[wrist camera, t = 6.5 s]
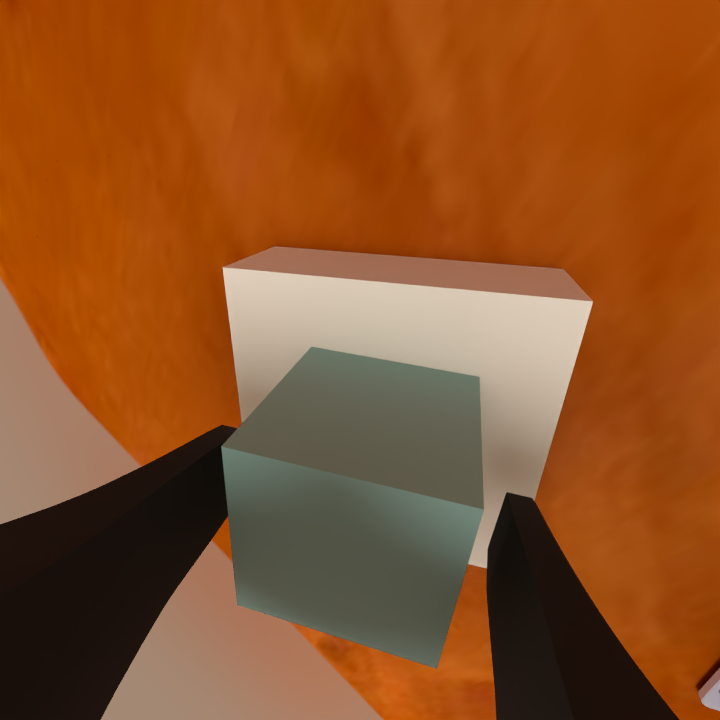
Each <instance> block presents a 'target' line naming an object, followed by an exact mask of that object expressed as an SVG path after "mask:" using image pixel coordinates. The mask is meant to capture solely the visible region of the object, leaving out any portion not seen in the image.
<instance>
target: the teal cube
mask: <svg viewBox="0 0 720 720" xmlns="http://www.w3.org/2000/svg"><path fill="white" fill-rule="evenodd" d="M221 448H222V458H223V468H224V479H225V489H226V499H227V509H228V519H229V529H230V539H231V549H232V559H233V568H234V579H235V589H236V599H237V605H239V606H243V607H246V608H249V609H252V610H255V611H259V612H261V613H264V614H268V615H271V616H274V617H277V618H280V619H283V620H286V621H289V622H293V623H296V624H299V625H302V626H305V627H308V628H311V629H315V630H318V631H321V632H324V633H327V634H330V635H333V636H336V637H340V638H343V639H346V640H349V641H352V642H355V643H358V644H361V645H365V646H368V647H371V648H374V649H377V650H380V651H383V652H386V653H390V654H393V655H396V656H399V657H402V658H405V659H408V660H411V661H415V662H418V663H421V664H424V665H427V666H430V667H433V668H436V669H437V666H438V663H439V660H440V656H441V653H442V650H443V646H444V643H445V639H446V636H447V633H448V629H449V626H450V623H451V619H452V616H453V613H454V609H455V606H456V602H457V599H458V596H459V592H460V589H461V586H462V582H463V579H464V575H465V572H466V569H467V565H468V562H469V559H470V555H471V552H472V549H473V545H474V542H475V538H476V535H477V532H478V528H479V525H480V522H481V518H482V515H483V511H484V494H483V464H482V435H481V406H480V377H477V376H472V375H466V374H461V373H455V372H450V371H444V370H438V369H433V368H427V367H422V366H416V365H411V364H405V363H400V362H394V361H389V360H383V359H377V358H372V357H366V356H361V355H355V354H350V353H344V352H339V351H333V350H328V349H322V348H316V347H311V348H310V349H309V350H308V351H307V352H306V353H305V354H304V355H303V357H302V358H301V359H300V360H299V361H298V362H297V363H296V364H295V365H294V366H293V368H292V369H291V370H290V371H289V372H288V373H287V374H286V375H285V376H284V378H283V379H282V380H281V381H280V382H279V383H278V384H277V385H276V386H275V388H274V389H273V390H272V391H271V392H270V393H269V394H268V395H267V396H266V398H265V399H264V400H263V401H262V402H261V403H260V404H259V405H258V406H257V407H256V409H255V410H254V411H253V412H252V413H251V414H250V415H249V416H248V417H247V419H246V420H245V421H244V422H243V423H242V424H241V425H240V426H239V427H238V429H237V430H236V431H235V432H234V433H233V434H232V435H231V436H230V437H229V438H228V440H227V441H226V442H225V443H224V444H223V445H222V446H221Z"/></svg>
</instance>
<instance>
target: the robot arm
mask: <svg viewBox="0 0 720 720" xmlns="http://www.w3.org/2000/svg"><path fill="white" fill-rule="evenodd" d="M236 430H237V428H233V427H229V426H224V425H221V426H219V427H217V428H215V429H213V430H211V431H209V432H207V433H205V434H203V435H201V436H199V437H197V438H196V439H194V440H192V441H190V442H188V443H186V444H185V445H183V446H181V447H179V448H177V449H175V450H173V451H171V452H169V453H168V454H166V455H164V456H162V457H160V458H158V459H156V460H154V461H152V462H151V463H149V464H147V465H145V466H142V467H140V468H138V469H137V470H134V471H132V472H130V473H128V474H126V475H124V476H122V477H120V478H118V479H116V480H114V481H111V482H109V483H107V484H105V485H103V486H101V487H99V488H96V489H94V490H92V491H89V492H87V493H85V494H82V495H80V496H77V497H75V498H72V499H70V500H67V501H65V502H62V503H60V504H57V505H55V506H52V507H50V508H47V509H44V510H41V511H38V512H35V513H32V514H29V515H27V516H24V517H21V518H18V519H15V520H12V521H9V522H6V523H3V524H0V720H100V719H101V718H102V716H103V714H104V712H105V710H106V708H107V706H108V704H109V702H110V701H111V699H112V697H113V695H114V693H115V691H116V689H117V688H118V686H119V684H120V682H121V680H122V679H123V677H124V675H125V673H126V672H127V670H128V668H129V666H130V664H131V663H132V661H133V659H134V657H135V656H136V654H137V652H138V650H139V648H140V647H141V645H142V643H143V641H144V640H145V638H146V636H147V635H148V633H149V631H150V630H151V628H152V626H153V625H154V623H155V621H156V620H157V618H158V616H159V614H160V612H161V611H162V609H163V608H164V606H165V605H166V603H167V602H168V600H169V599H170V597H171V596H172V594H173V593H174V591H175V590H176V588H177V587H178V585H179V584H180V583H181V581H182V580H183V578H184V577H185V576H186V574H187V573H188V572H189V570H190V569H191V567H192V566H193V565H194V563H195V562H196V560H197V559H198V558H199V556H200V555H201V553H202V552H203V551H204V549H205V548H206V546H207V545H208V544H209V542H210V541H211V539H212V538H213V537H214V535H215V534H216V532H217V531H218V530H219V528H220V527H221V525H222V524H223V522H224V521H225V520H226V518H227V517H228V509H227V499H226V489H225V479H224V468H223V458H222V448H221V446H222V445H223V444H224V443H225V442H226V441H227V440H228V438H229V437H230V436H231V435H232V434H233V433H234V432H235V431H236ZM487 603H488V615H489V627H490V639H491V650H492V662H493V674H494V685H495V699H496V719H497V720H679V719H678V717H677V716H676V715H675V714H674V713H673V711H672V710H671V709H670V708H669V706H668V705H667V704H666V703H665V701H664V700H663V699H662V698H661V696H660V695H659V694H658V692H657V691H656V690H655V689H654V687H653V686H652V685H651V683H650V682H649V681H648V679H647V678H646V677H645V675H644V674H643V673H642V671H641V670H640V669H639V667H638V666H637V665H636V663H635V662H634V661H633V659H632V658H631V657H630V655H629V654H628V653H627V651H626V650H625V648H624V647H623V646H622V644H621V643H620V641H619V640H618V638H617V637H616V636H615V634H614V633H613V631H612V630H611V628H610V627H609V625H608V624H607V622H606V621H605V619H604V618H603V616H602V615H601V613H600V612H599V610H598V609H597V607H596V606H595V604H594V603H593V601H592V600H591V598H590V596H589V595H588V593H587V592H586V590H585V589H584V587H583V585H582V584H581V582H580V580H579V579H578V577H577V575H576V574H575V572H574V571H573V569H572V567H571V566H570V564H569V562H568V561H567V559H566V557H565V555H564V554H563V552H562V550H561V549H560V547H559V545H558V543H557V541H556V540H555V538H554V536H553V534H552V532H551V531H550V529H549V527H548V525H547V523H546V521H545V520H544V518H543V516H542V514H541V512H540V510H539V508H538V506H537V505H536V503H535V501H534V500H533V498H530V497H526V496H521V495H517V494H513V493H509V492H506V495H505V498H504V501H503V504H502V507H501V510H500V513H499V516H498V519H497V522H496V525H495V528H494V531H493V534H492V537H491V540H490V543H489V546H488V552H487ZM698 695H699V697H700V699H701V702H702V704H704V705H705V706H706V707H709V708H711V709H715V710H718V711H720V668H719V669H718V670H717V671H716V672H715V674H714V675H713V676H712V677H711V678H710V679H709V680H708V681H707V682H706V684H705V685H704V686H703V687H702V688H701V689H700V690H699V692H698Z"/></svg>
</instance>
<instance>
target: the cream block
mask: <svg viewBox="0 0 720 720" xmlns="http://www.w3.org/2000/svg"><path fill="white" fill-rule="evenodd" d="M223 274H224V282H225V290H226V298H227V307H228V315H229V323H230V331H231V339H232V347H233V355H234V363H235V371H236V379H237V387H238V395H239V404H240V412H241V420H242V423H243V422H244V421H245V420H246V419H247V417H248V416H249V415H250V414H251V413H252V412H253V411H254V410H255V409H256V407H257V406H258V405H259V404H260V403H261V402H262V401H263V400H264V399H265V398H266V396H267V395H268V394H269V393H270V392H271V391H272V390H273V389H274V388H275V386H276V385H277V384H278V383H279V382H280V381H281V380H282V379H283V378H284V376H285V375H286V374H287V373H288V372H289V371H290V370H291V369H292V368H293V366H294V365H295V364H296V363H297V362H298V361H299V360H300V359H301V358H302V357H303V355H304V354H305V353H306V352H307V351H308V350H309V349H310V348H311V347H316V348H322V349H328V350H333V351H339V352H344V353H350V354H355V355H361V356H366V357H372V358H377V359H383V360H389V361H394V362H400V363H405V364H411V365H416V366H422V367H427V368H433V369H438V370H444V371H450V372H455V373H461V374H466V375H472V376H477V377H480V406H481V435H482V464H483V494H484V511H483V515H482V518H481V522H480V525H479V528H478V532H477V535H476V538H475V542H474V545H473V549H472V552H471V555H470V559H469V562H468V564H470V565H475V566H479V567H483V568H487V552H488V546H489V543H490V540H491V537H492V534H493V531H494V528H495V525H496V522H497V519H498V516H499V513H500V510H501V507H502V504H503V501H504V498H505V495H506V492H509V493H513V494H517V495H521V496H526V497H530V498H533V500H535V497H536V493H537V490H538V487H539V483H540V480H541V477H542V473H543V470H544V466H545V463H546V460H547V456H548V453H549V449H550V446H551V443H552V439H553V436H554V432H555V429H556V426H557V422H558V419H559V416H560V412H561V409H562V405H563V402H564V399H565V395H566V392H567V388H568V385H569V382H570V378H571V375H572V372H573V368H574V365H575V361H576V358H577V355H578V351H579V348H580V344H581V341H582V338H583V334H584V331H585V327H586V324H587V321H588V317H589V314H590V311H591V307H592V304H593V301H592V300H591V299H590V298H589V296H588V295H587V294H586V293H585V292H584V291H583V290H582V289H581V288H580V287H579V285H578V284H577V283H576V282H575V281H574V280H573V279H572V278H571V277H570V276H569V274H568V273H567V272H566V271H565V270H564V269H558V268H545V267H533V266H520V265H507V264H494V263H482V262H469V261H456V260H444V259H431V258H418V257H405V256H393V255H380V254H367V253H354V252H342V251H329V250H316V249H303V248H291V247H278V246H274V247H272V248H269V249H267V250H264V251H262V252H259V253H257V254H254V255H252V256H250V257H247V258H245V259H242V260H240V261H237V262H235V263H232V264H230V265H227V266H225V267H223Z"/></svg>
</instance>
